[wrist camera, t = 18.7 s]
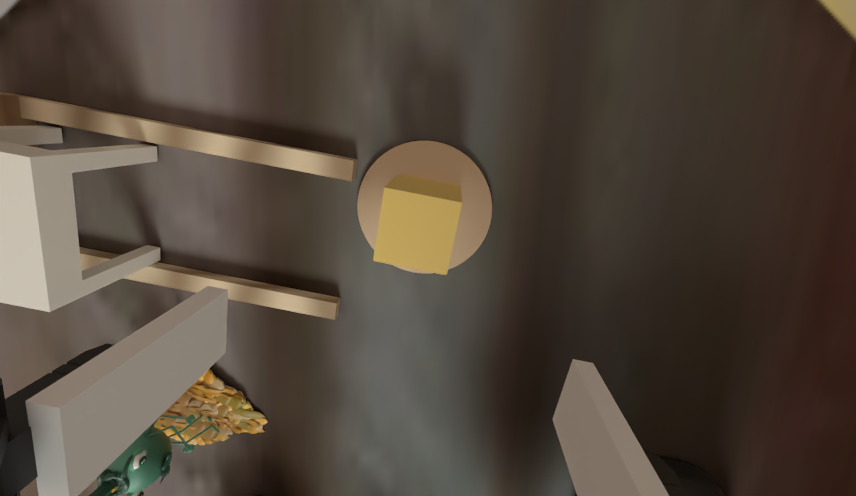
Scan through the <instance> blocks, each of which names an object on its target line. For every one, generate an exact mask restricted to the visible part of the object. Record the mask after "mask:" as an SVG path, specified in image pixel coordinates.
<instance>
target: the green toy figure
mask: <svg viewBox="0 0 856 496" xmlns="http://www.w3.org/2000/svg"><path fill="white" fill-rule="evenodd" d="M263 417H265V416H264V415H263V414H261V413H260V412H256V411H254V410H253V408H252V406H251V404H250V402H249V401H247V400H246V397H245V396H244V395H243V393H242V392H241V391H237V390H236V389H235V388H233V387H230V386H227V385H224V382H223V381H222V380H221V379H220V378H218V377H216V376H215V375H214V373H213V372H212V371H211V369H208V370H207V371H206V372H205V373H204V374H203V375H202V376H201V377H200V378H199V379H198V380H197V381H196V382H195V383H194V384H193V385H192V386H191V387H190V388H189V389H188V390H187V391H186V392H185V393H184V394H183V395H182V396H181V397H180V398H179V399H177V400H176V401H175V402H174V403H173V404H172V405H171V406H170V407H169V408H168V409H167V410H166V411H165V412H164V413H163V414H162V415H161V416H160V417H159V418H158V419H157V420H156V421H155V422H154V423H153V424H152V425H151V426H150V427H149V428H148V429H146V430H145V431H144V432H143V433H142V434H141V435H140V436H139V437H138V438H137V439H136V440H135V441H134V442H133V443H132V444H131V445H130V446H129V447H128V448H127V449H126V450H125V451H124V452H123V453H122V454H121V455H120V456H119V457H118V458H117V459H115V460H114V461H113V462H112V463H111V464H110V465H109V466H108V467H107V468H106V469H105V470H104V471H103V472H102V473H101V474H100V475H99V476H98V477H97V482H98V488H97V489H96V490H95V491H94V492H93V493H91V494H90V495H89V496H117V495H119V494H123V493H128V494H127V496H143V495H144V493H143V492H142V490H143V489H144V488H146V487H148V486H149V485H151V484H152V483H153V482H154V481H155V480H157V478H158V477H159V476H160V475H161V477H163V478H162V480H163V479H164V478H165V477H166V476H167V475H168V473H169V471H170V465H169V464H170V462H171V458H172V452H171V449H172V447H171V444H174V445H185V446H186V447H185V448H184V450H183V452H184V453H187V452H192V451H193V449H194V445H196V444H197V443H198V444H199V445H205V443H207V444H212V443H214V441H215V442H219V440H220V441H225V440H227V439H229V438H230V437H229V436H228V435H232V434H233V432H235V433H237V434H240V433H241V432H242V433H243V432H247V433H250V434H256V433H258V432H259V433H260V432H265V431H264V430H263V425H265V424H266V423H268V421H267V419H265V418H263ZM169 438H174V439H175V440H180V441H182V442H183V443H182V442H170V440H169ZM187 443H188V444H191V445H188V444H187ZM162 480H161V481H162ZM160 483H162V482H160Z"/></svg>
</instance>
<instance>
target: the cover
mask: <svg viewBox="0 0 856 496" xmlns="http://www.w3.org/2000/svg"><path fill="white" fill-rule="evenodd" d="M56 143H63V139H62V129H61V128H58V127H53V126H47V125H42V126H0V302H1V303H6V304H11V305H16V306H22V307H27V308H32V309H37V310H42V311H47V312H51V311H53V310H55V309H58V308H60V307H62V306H64V305H66V304H68V303H70V302H73V301H75V300H77V299H79V298H81V297H83V296H85V295H87V294H90V293H92V292H94V291H96V290H98V289H100V288H102V287H104V286H107V285H109V284H111V283H113V282H115V281H117V280H119V279H121V278H124V277H126V276H128V275H130V274H132V273H134V272H136V271H138V270H141V269H143V268H145V267H147V266H149V265H151V264H153V263H156V262H158V261H160V260H161V258H160V247H155V246H150V245H146V246H143V247H141V248H138V249H136V250H133V251H131V252H128V253H126V254H123V255H121V256H118V257H116V258H113V259H111V260H108V261H106V262H103V263H101V264H98V265H96V266H93V267H91V268H88V269H86V270H83V271H82V270H81V260H80V250H79V239H78V229H77V219H76V209H75V199H74V189H73V178H72V173H74V172H82V171H89V170H97V169H104V168H111V167H119V166H126V165H134V164H141V163H149V162H156V161H157V146H151V145H146V144H133V145H119V146H105V147H91V148H78V149H64V150H47V149H42V148H37V147H31V146H26V145H38V144H56Z"/></svg>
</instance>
